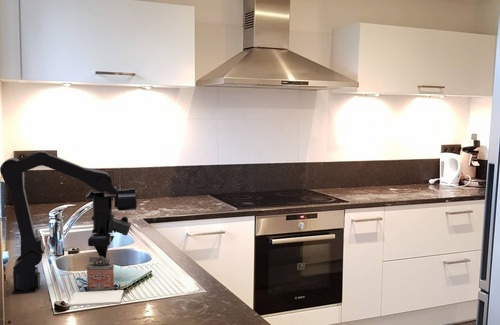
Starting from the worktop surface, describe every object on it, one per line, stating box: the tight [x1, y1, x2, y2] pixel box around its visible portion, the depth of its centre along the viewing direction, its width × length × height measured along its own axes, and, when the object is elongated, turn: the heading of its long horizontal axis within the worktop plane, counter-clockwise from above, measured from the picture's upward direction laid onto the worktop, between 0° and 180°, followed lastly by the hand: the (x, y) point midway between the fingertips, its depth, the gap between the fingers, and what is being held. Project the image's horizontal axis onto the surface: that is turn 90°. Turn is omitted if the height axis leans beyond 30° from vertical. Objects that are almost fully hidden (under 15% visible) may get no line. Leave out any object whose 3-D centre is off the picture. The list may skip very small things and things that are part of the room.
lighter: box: [86, 256, 115, 292], centre depth 146 cm, size 8×3×10 cm, turn 92°
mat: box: [67, 289, 125, 307], centre depth 139 cm, size 14×9×1 cm, turn 99°
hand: (103, 260), depth 153 cm, fingers closed
